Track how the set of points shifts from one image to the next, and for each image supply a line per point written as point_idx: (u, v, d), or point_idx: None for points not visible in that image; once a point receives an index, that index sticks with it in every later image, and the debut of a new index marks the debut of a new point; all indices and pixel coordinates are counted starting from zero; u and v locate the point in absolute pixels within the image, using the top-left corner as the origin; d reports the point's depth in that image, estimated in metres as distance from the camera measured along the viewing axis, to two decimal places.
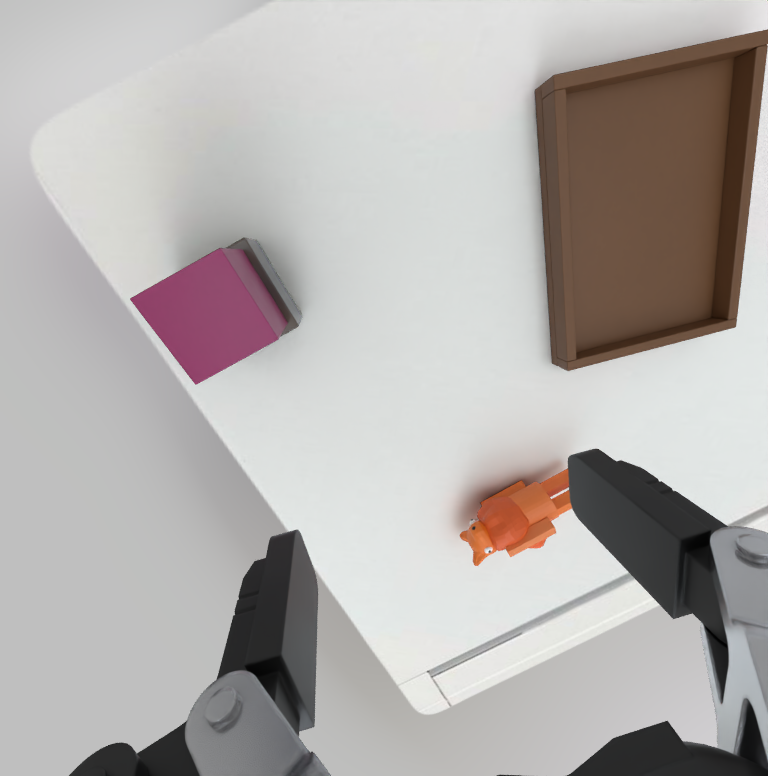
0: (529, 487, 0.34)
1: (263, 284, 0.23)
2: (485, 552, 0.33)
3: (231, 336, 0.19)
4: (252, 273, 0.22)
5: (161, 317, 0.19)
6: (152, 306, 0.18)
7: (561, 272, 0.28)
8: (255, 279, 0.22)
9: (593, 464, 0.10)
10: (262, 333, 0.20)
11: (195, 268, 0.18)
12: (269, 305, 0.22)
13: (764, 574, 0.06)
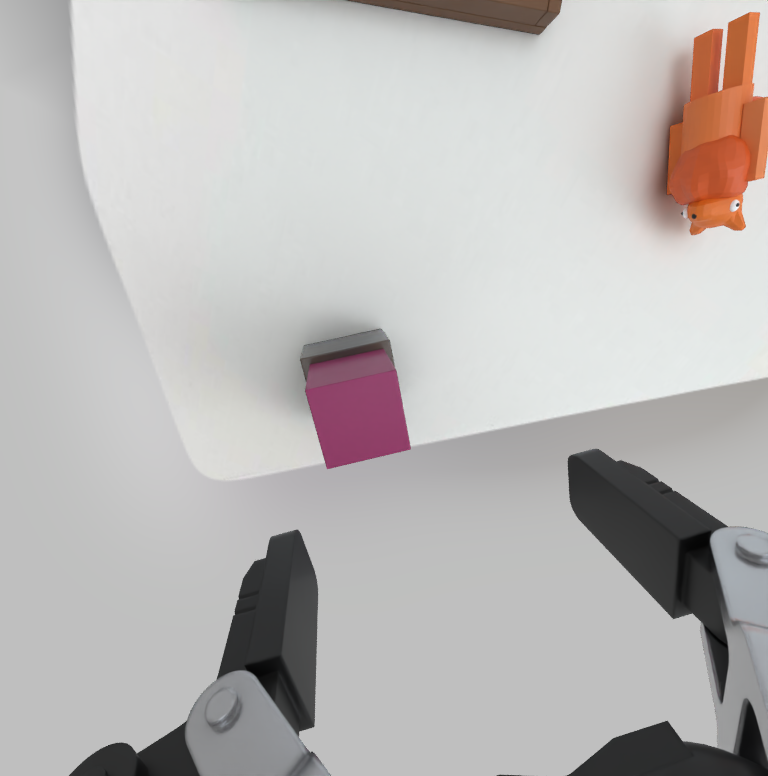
0: (686, 119, 0.25)
1: (343, 358, 0.25)
2: (735, 211, 0.25)
3: (380, 407, 0.21)
4: (331, 365, 0.24)
5: (348, 453, 0.22)
6: (337, 456, 0.22)
7: None
8: (337, 365, 0.24)
9: (593, 464, 0.10)
10: (386, 381, 0.21)
11: (316, 414, 0.21)
12: (363, 362, 0.23)
13: (764, 574, 0.06)
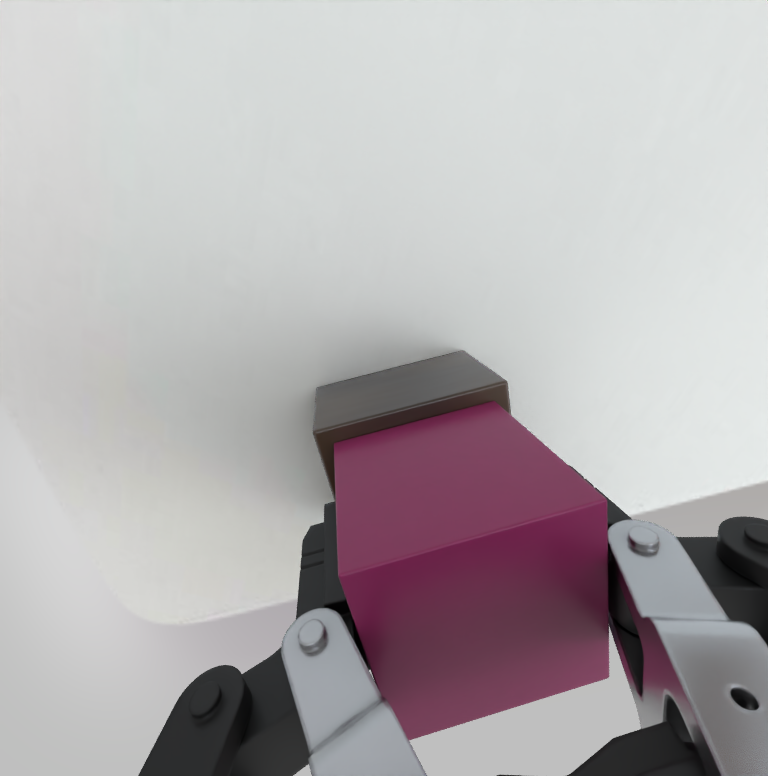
0: None
1: (409, 426, 0.11)
2: None
3: (549, 597, 0.07)
4: (389, 453, 0.10)
5: (452, 706, 0.08)
6: (425, 715, 0.08)
7: None
8: (404, 452, 0.10)
9: None
10: (576, 532, 0.07)
11: (372, 633, 0.07)
12: (471, 449, 0.09)
13: (644, 561, 0.07)
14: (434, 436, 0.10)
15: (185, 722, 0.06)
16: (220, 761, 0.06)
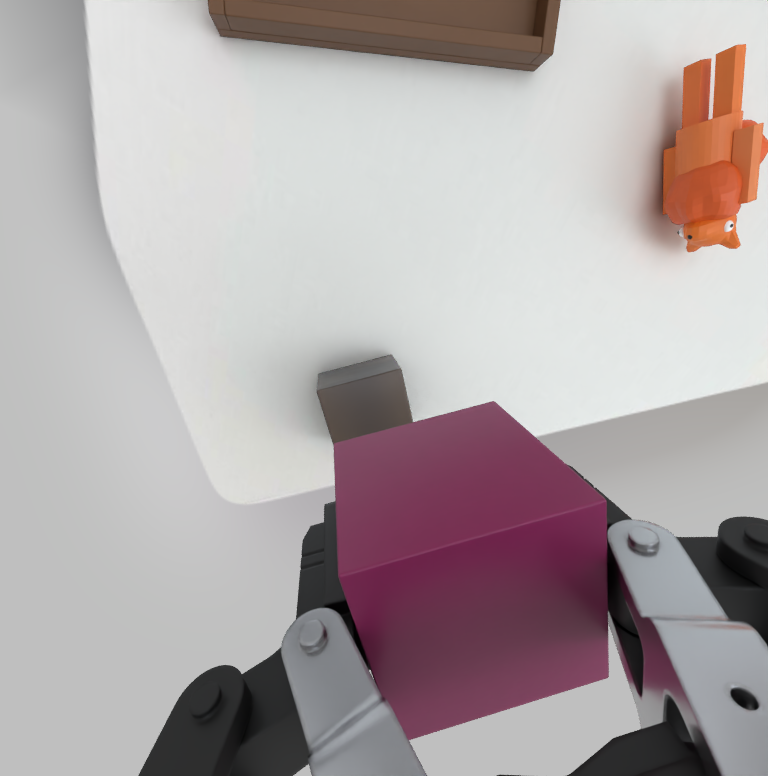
0: (678, 144, 0.26)
1: (409, 426, 0.11)
2: (729, 231, 0.26)
3: (549, 597, 0.07)
4: (389, 453, 0.10)
5: (452, 706, 0.08)
6: (424, 715, 0.08)
7: (427, 41, 0.22)
8: (404, 452, 0.10)
9: None
10: (575, 533, 0.07)
11: (372, 633, 0.07)
12: (471, 449, 0.09)
13: (644, 561, 0.07)
14: (434, 436, 0.10)
15: (185, 722, 0.06)
16: (220, 761, 0.06)
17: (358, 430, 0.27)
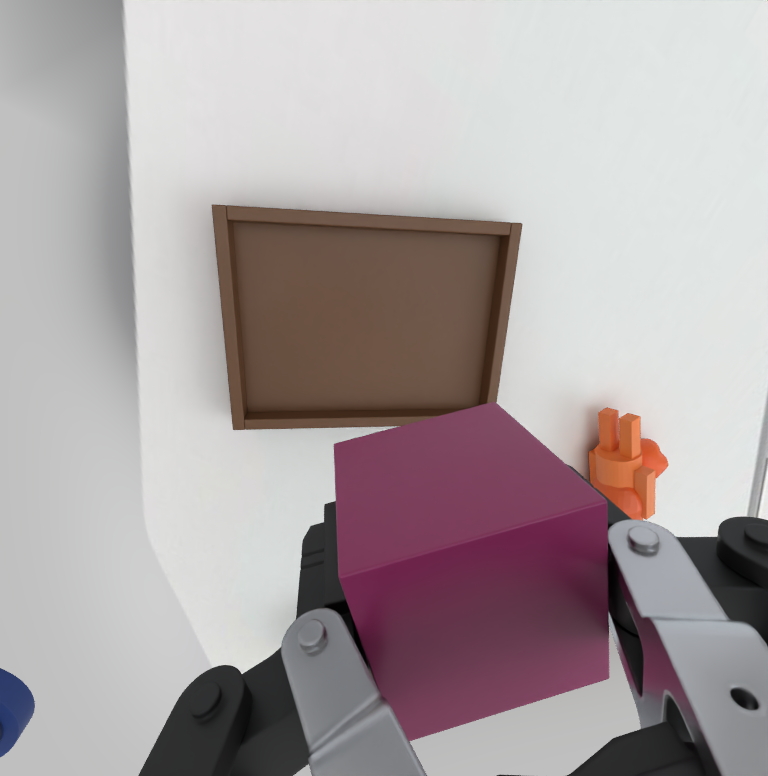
0: (596, 461, 0.33)
1: (409, 427, 0.11)
2: None
3: (549, 598, 0.07)
4: (390, 454, 0.10)
5: (453, 707, 0.08)
6: (425, 716, 0.08)
7: None
8: (404, 453, 0.10)
9: None
10: (576, 534, 0.07)
11: (372, 634, 0.07)
12: (471, 450, 0.09)
13: (644, 561, 0.07)
14: (434, 437, 0.10)
15: (185, 722, 0.06)
16: (221, 761, 0.06)
17: None
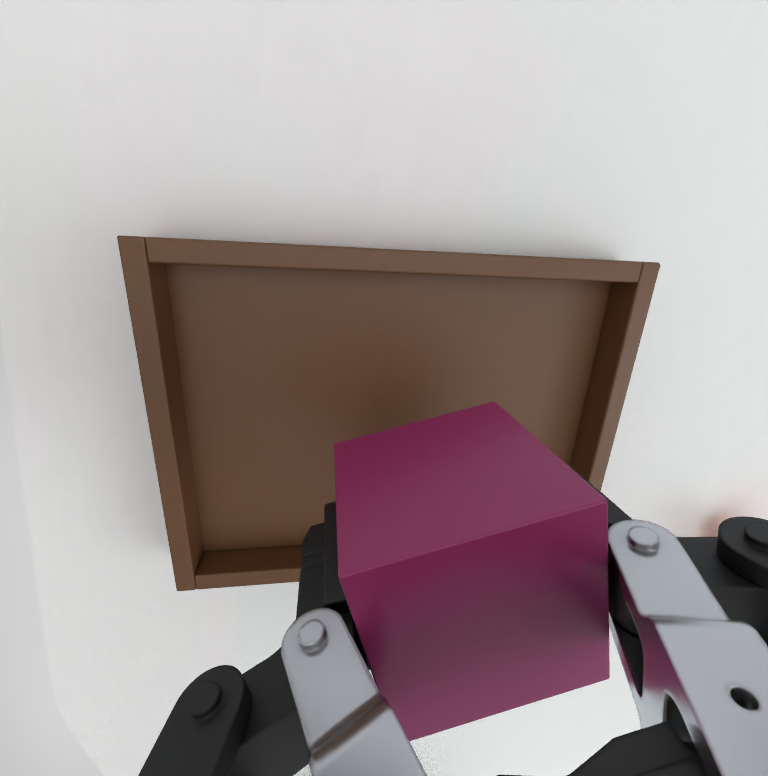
0: None
1: (409, 426, 0.11)
2: None
3: (550, 599, 0.07)
4: (389, 453, 0.10)
5: (452, 706, 0.08)
6: (425, 716, 0.08)
7: None
8: (404, 453, 0.10)
9: None
10: (576, 533, 0.07)
11: (372, 634, 0.07)
12: (471, 449, 0.09)
13: (644, 561, 0.07)
14: (434, 437, 0.10)
15: (185, 722, 0.06)
16: (221, 761, 0.06)
17: None
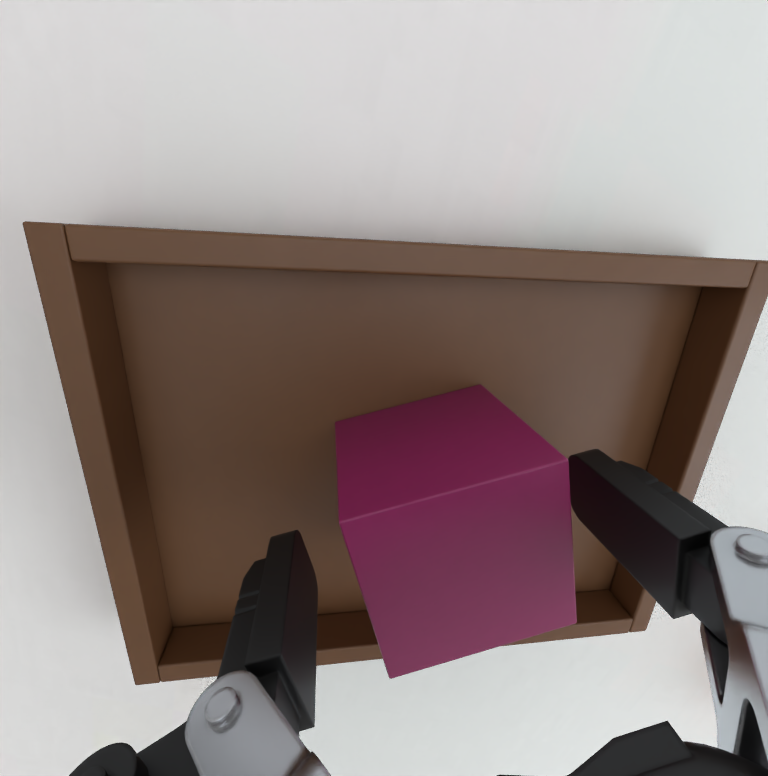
0: None
1: (403, 406, 0.12)
2: None
3: (521, 547, 0.09)
4: (385, 428, 0.11)
5: (438, 645, 0.09)
6: (414, 653, 0.09)
7: None
8: (397, 428, 0.11)
9: (593, 464, 0.10)
10: (542, 489, 0.08)
11: (367, 574, 0.08)
12: (457, 423, 0.10)
13: (764, 574, 0.06)
14: (425, 414, 0.11)
15: None
16: None
17: None
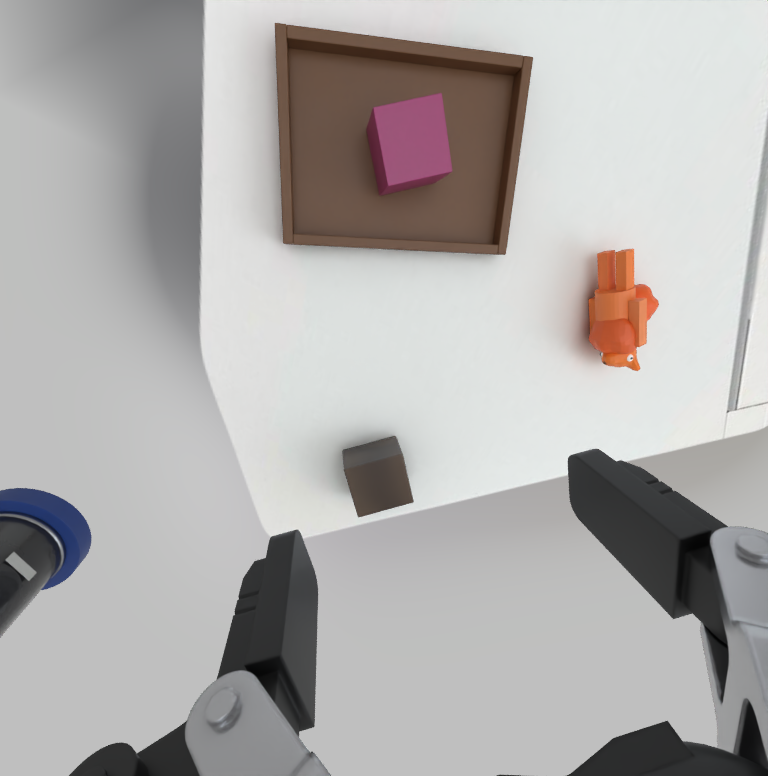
0: (595, 301, 0.38)
1: None
2: (630, 361, 0.38)
3: (429, 128, 0.27)
4: None
5: (404, 171, 0.28)
6: (396, 173, 0.28)
7: (422, 250, 0.34)
8: None
9: (593, 464, 0.10)
10: (434, 103, 0.27)
11: (381, 131, 0.27)
12: None
13: (764, 574, 0.06)
14: None
15: None
16: None
17: (371, 494, 0.39)
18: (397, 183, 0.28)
